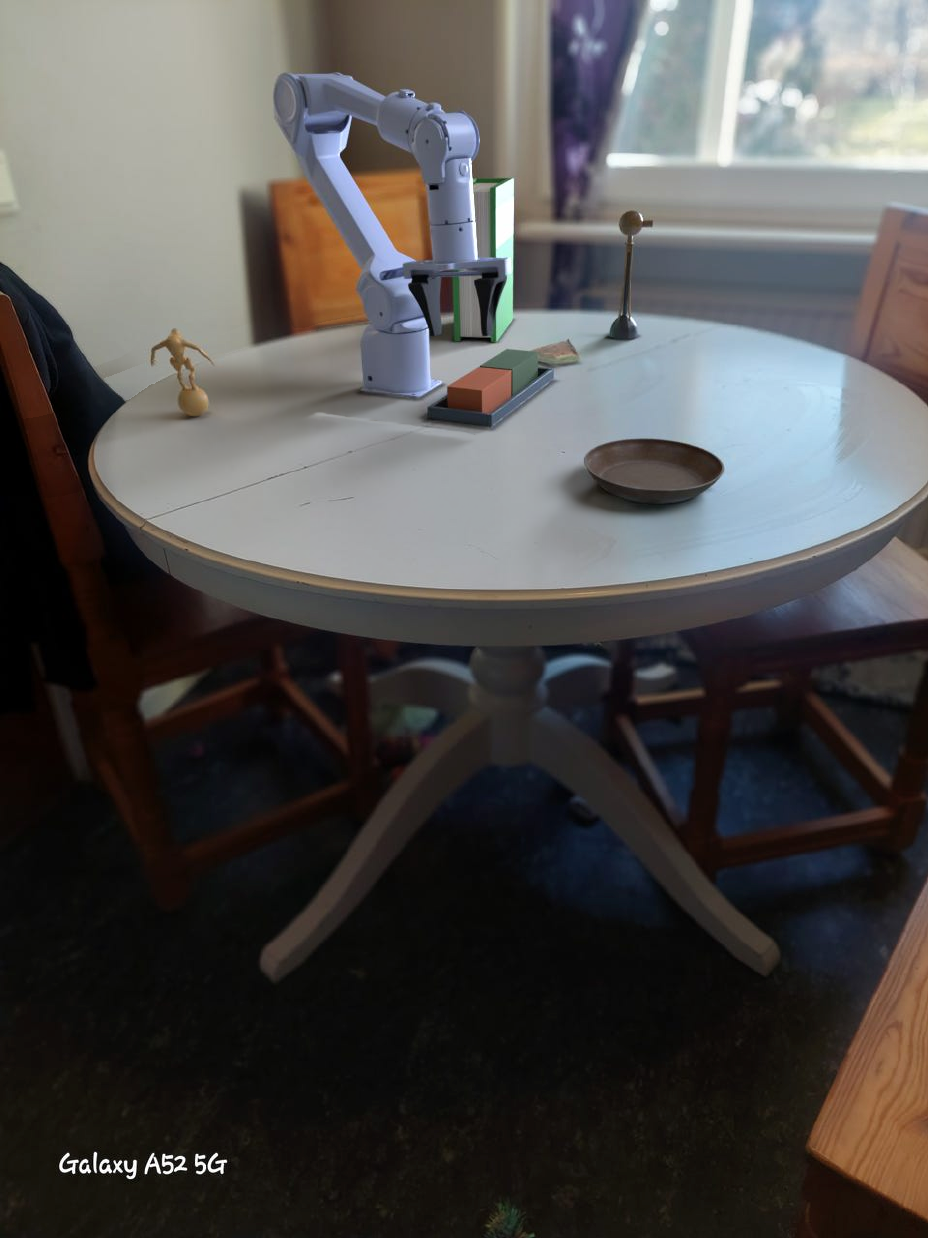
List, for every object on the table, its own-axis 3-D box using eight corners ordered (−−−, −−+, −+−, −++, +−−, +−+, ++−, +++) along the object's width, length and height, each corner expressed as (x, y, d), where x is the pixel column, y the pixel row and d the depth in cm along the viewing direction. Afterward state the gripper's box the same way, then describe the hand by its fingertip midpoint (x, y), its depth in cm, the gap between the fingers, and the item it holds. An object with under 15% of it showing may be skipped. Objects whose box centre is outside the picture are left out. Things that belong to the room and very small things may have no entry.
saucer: (748, 501, 90) (752, 477, 89) (618, 521, 87) (620, 496, 86) (679, 454, 103) (681, 431, 101) (562, 469, 99) (563, 446, 98)
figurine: (229, 410, 120) (215, 321, 114) (217, 424, 115) (201, 332, 109) (170, 410, 121) (153, 321, 115) (155, 425, 116) (136, 332, 110)
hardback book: (496, 342, 150) (495, 187, 138) (454, 341, 151) (450, 187, 139) (512, 319, 165) (513, 177, 152) (474, 318, 166) (472, 177, 154)
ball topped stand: (642, 332, 154) (652, 208, 143) (644, 339, 150) (654, 211, 139) (608, 332, 154) (616, 208, 144) (609, 339, 150) (617, 212, 140)
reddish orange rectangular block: (447, 416, 115) (446, 386, 113) (478, 395, 123) (478, 366, 121) (482, 420, 113) (481, 390, 111) (511, 399, 121) (511, 370, 119)
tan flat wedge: (568, 348, 146) (568, 337, 145) (604, 355, 141) (605, 344, 140) (524, 360, 140) (524, 349, 139) (561, 369, 135) (561, 357, 134)
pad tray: (427, 421, 115) (427, 406, 114) (496, 375, 133) (496, 362, 132) (491, 429, 111) (491, 414, 110) (553, 381, 129) (554, 368, 128)
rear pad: (479, 394, 123) (479, 365, 121) (506, 375, 131) (506, 348, 129) (512, 397, 121) (512, 369, 119) (537, 378, 129) (538, 351, 127)
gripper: (386, 228, 109) (399, 340, 115) (492, 222, 103) (499, 340, 109) (413, 223, 115) (423, 330, 121) (515, 217, 109) (520, 329, 115)
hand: (461, 334), depth 116 cm, fingers open, 7 cm apart
